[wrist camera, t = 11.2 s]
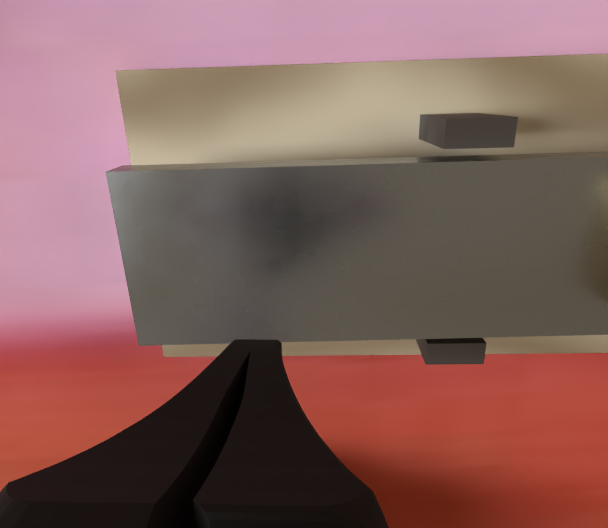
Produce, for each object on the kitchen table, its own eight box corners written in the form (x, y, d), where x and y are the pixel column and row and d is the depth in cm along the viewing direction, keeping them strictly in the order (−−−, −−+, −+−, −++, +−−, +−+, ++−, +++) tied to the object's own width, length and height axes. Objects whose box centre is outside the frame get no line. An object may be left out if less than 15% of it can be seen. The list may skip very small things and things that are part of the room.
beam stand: (689, 341, 23) (783, 403, 18) (169, 346, 24) (134, 406, 19) (786, 49, 18) (949, 32, 13) (125, 71, 19) (62, 64, 14)
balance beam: (752, 313, 19) (788, 330, 17) (151, 327, 19) (138, 345, 18) (816, 145, 16) (864, 149, 15) (122, 165, 17) (105, 172, 15)
